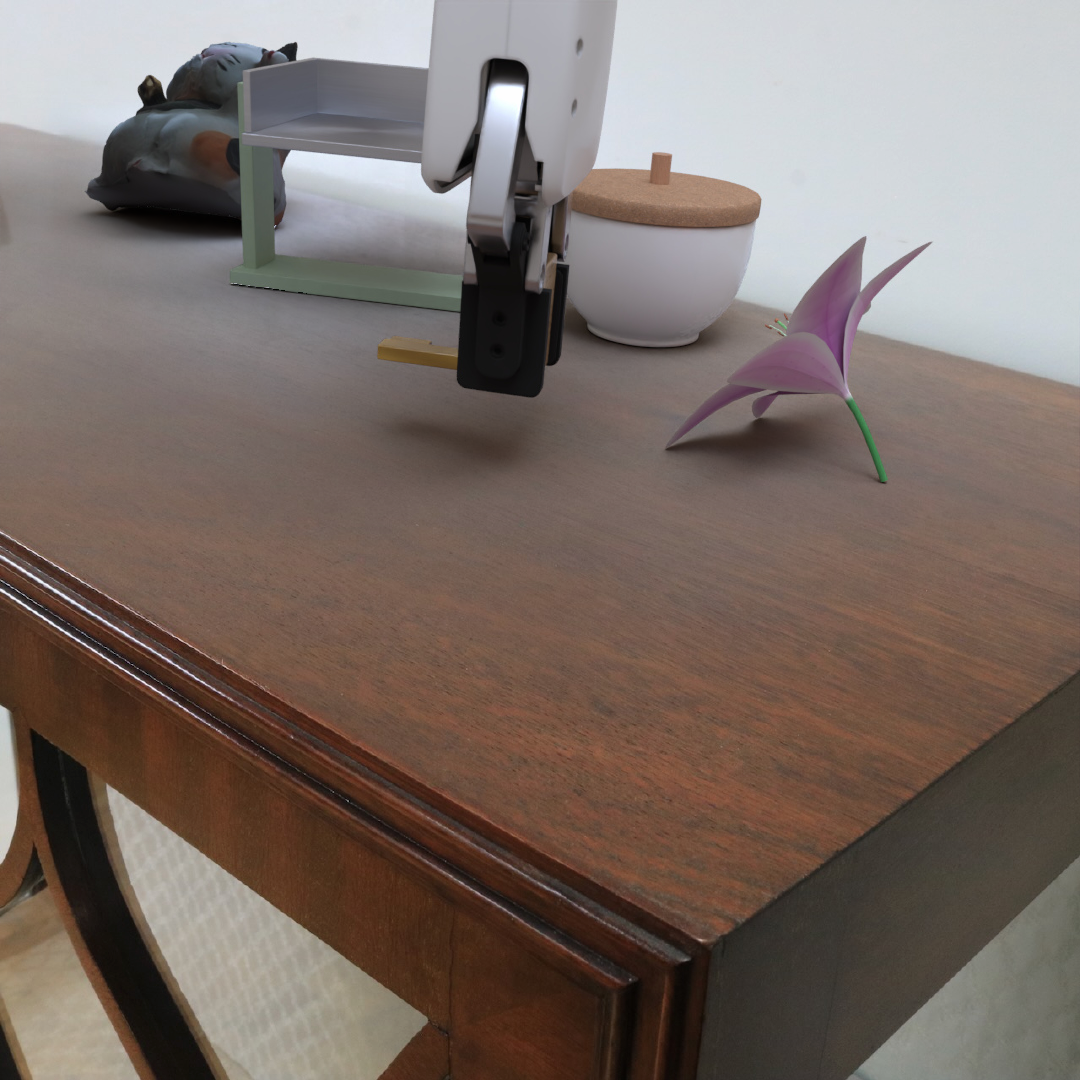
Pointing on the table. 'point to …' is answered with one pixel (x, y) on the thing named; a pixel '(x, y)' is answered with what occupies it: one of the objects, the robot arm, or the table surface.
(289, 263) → the bracket
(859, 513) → the table surface
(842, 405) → the table surface
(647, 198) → the trinket box
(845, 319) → the lily
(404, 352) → the tan blocky wooden piece
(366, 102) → the shallow metal tray
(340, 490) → the table surface
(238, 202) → the lucky cat figurine
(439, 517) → the table surface
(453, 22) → the robot arm
